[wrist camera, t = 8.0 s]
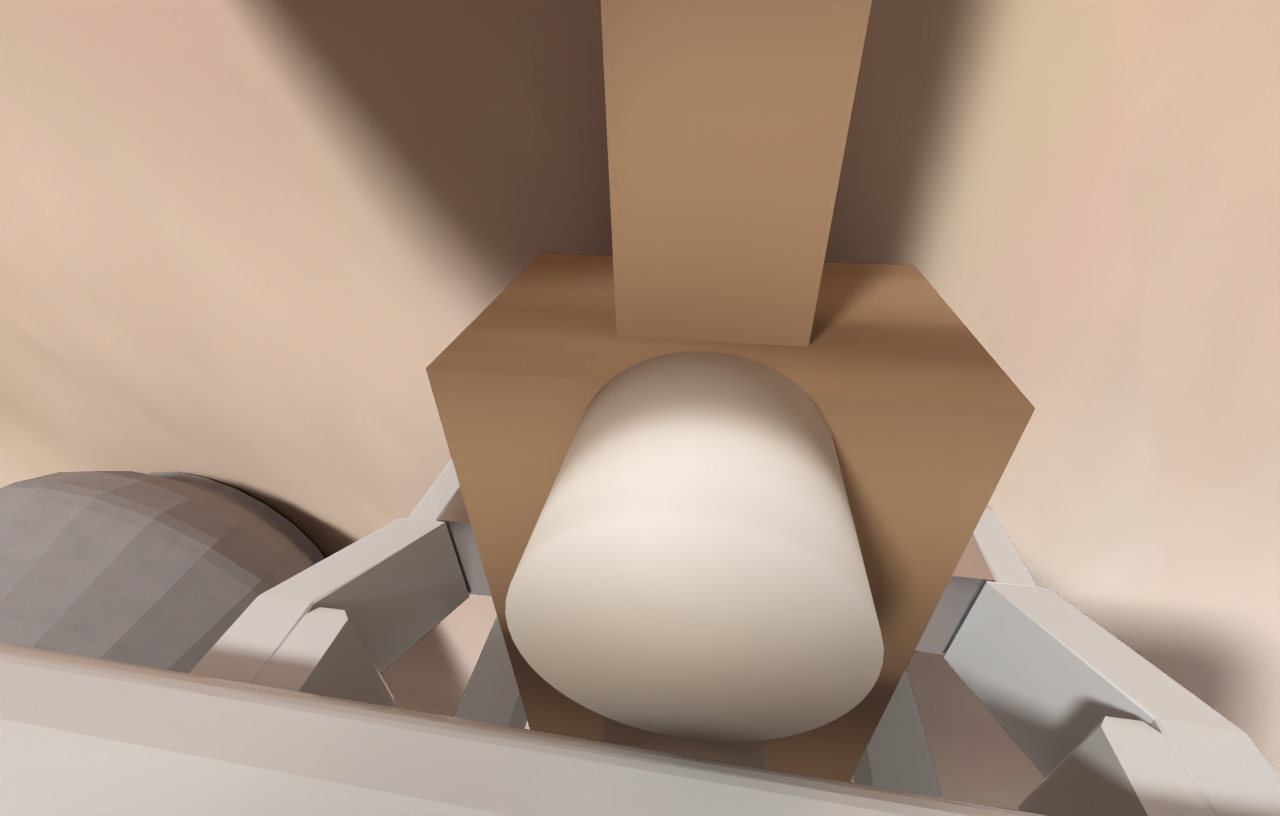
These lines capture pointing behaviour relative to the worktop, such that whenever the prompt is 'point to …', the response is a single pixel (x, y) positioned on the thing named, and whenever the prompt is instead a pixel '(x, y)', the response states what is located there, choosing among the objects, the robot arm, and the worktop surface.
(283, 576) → the coffee pot
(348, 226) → the worktop surface
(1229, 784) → the robot arm
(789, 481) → the wooden mallet
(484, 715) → the small grey table
